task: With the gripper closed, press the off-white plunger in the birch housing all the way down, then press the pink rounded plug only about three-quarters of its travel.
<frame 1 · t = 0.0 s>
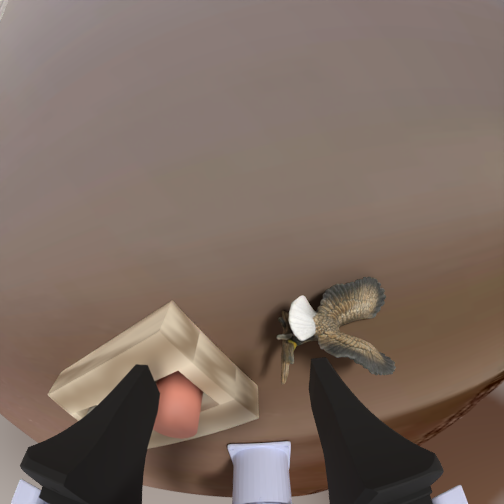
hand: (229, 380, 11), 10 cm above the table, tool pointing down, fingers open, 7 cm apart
press housing: (144, 384, 26), on the table
ivory plunger: (100, 427, 22), point 5 cm above the table, slide at 0.0 cm
pink rounded plug: (176, 404, 20), point 5 cm above the table, slide at 0.0 cm
eagle figurine: (330, 309, 22), on the table
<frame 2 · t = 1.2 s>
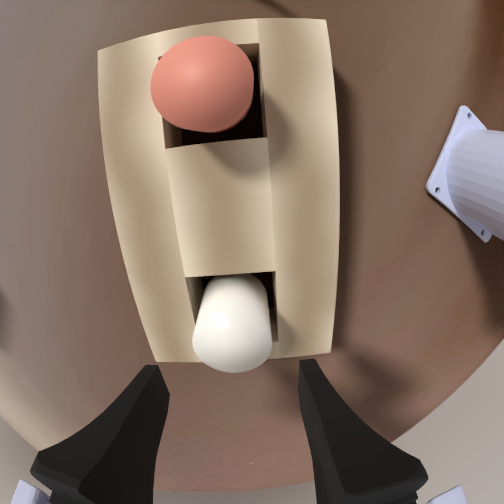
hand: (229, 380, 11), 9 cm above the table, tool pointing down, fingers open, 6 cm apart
press housing: (227, 196, 18), on the table
ivory plunger: (233, 319, 16), point 5 cm above the table, slide at 0.0 cm
pink rounded plug: (208, 90, 11), point 5 cm above the table, slide at 0.0 cm
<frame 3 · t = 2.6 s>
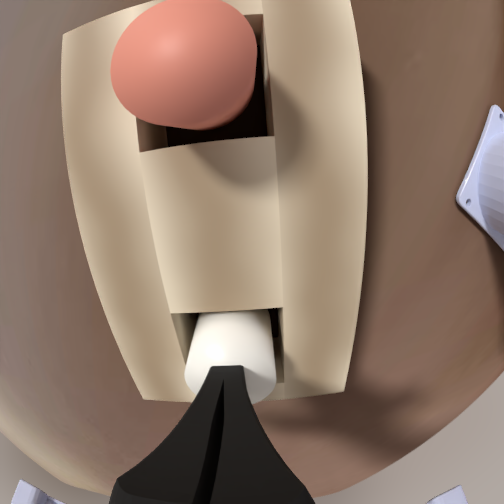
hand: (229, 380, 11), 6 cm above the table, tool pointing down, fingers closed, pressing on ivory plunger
press housing: (223, 209, 15), on the table
ivory plunger: (232, 347, 14), point 4 cm above the table, slide at 1.2 cm, touching gripper
pink rounded plug: (194, 72, 8), point 5 cm above the table, slide at 0.0 cm
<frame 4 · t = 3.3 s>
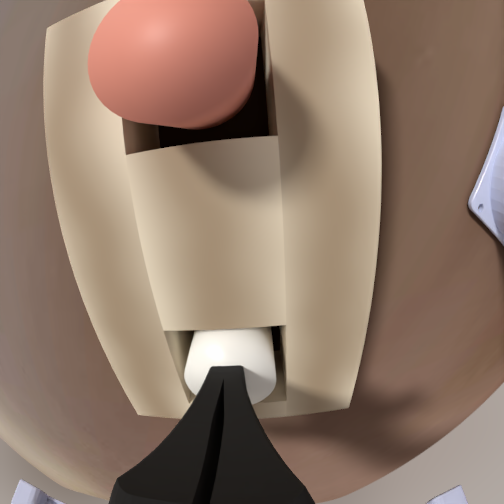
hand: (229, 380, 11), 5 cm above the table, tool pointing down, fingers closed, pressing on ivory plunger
press housing: (221, 215, 13), on the table
ivory plunger: (232, 348, 14), point 2 cm above the table, slide at 2.4 cm, touching gripper
pink rounded plug: (186, 63, 7), point 5 cm above the table, slide at 0.0 cm
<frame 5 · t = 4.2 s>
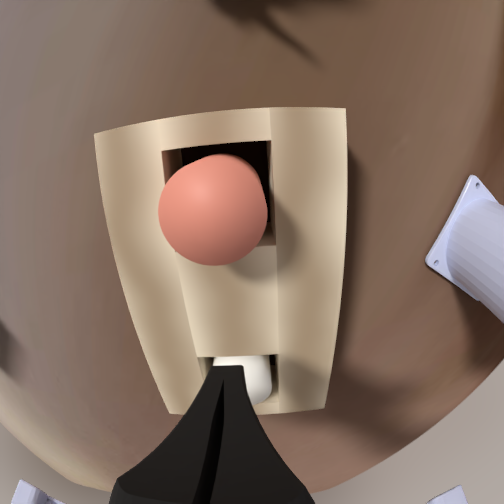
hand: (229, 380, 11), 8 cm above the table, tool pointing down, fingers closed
press housing: (234, 275, 19), on the table
ivory plunger: (241, 365, 19), point 2 cm above the table, slide at 2.4 cm
pink rounded plug: (217, 201, 12), point 5 cm above the table, slide at 0.0 cm
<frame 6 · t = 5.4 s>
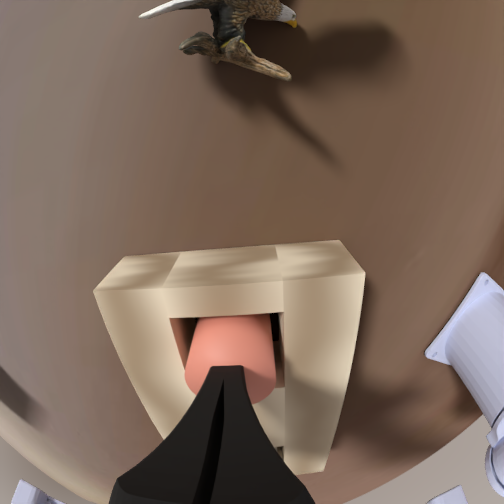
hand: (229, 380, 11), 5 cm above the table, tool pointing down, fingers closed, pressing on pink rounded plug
press housing: (244, 379, 19), on the table
ivory plunger: (251, 444, 19), point 2 cm above the table, slide at 2.4 cm
pink rounded plug: (232, 348, 14), point 3 cm above the table, slide at 1.5 cm, touching gripper
eagle figurine: (258, 8, 10), on the table
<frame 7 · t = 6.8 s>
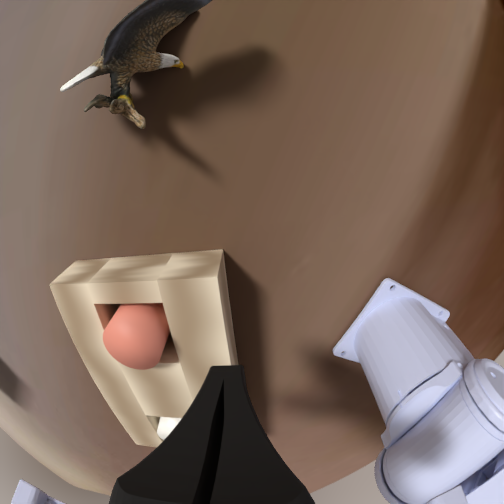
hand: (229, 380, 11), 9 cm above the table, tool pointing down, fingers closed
press housing: (170, 359, 23), on the table
ivory plunger: (181, 418, 23), point 2 cm above the table, slide at 2.4 cm
pink rounded plug: (140, 326, 18), point 3 cm above the table, slide at 1.7 cm
eagle figurine: (157, 55, 14), on the table
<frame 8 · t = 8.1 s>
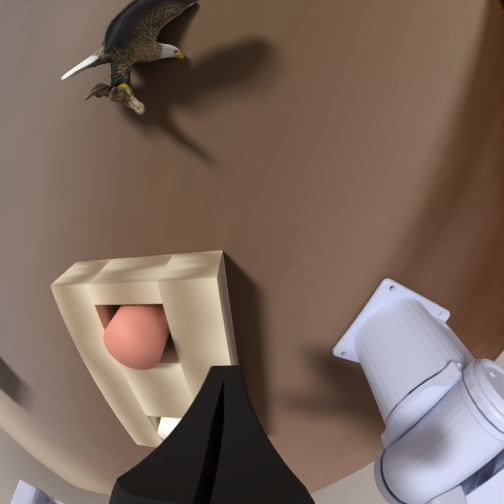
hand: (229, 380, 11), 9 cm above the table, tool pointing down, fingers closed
press housing: (170, 360, 23), on the table
ivory plunger: (182, 418, 23), point 2 cm above the table, slide at 2.4 cm
pink rounded plug: (141, 327, 18), point 3 cm above the table, slide at 1.7 cm
eagle figurine: (157, 46, 14), on the table
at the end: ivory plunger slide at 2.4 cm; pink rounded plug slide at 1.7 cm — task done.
